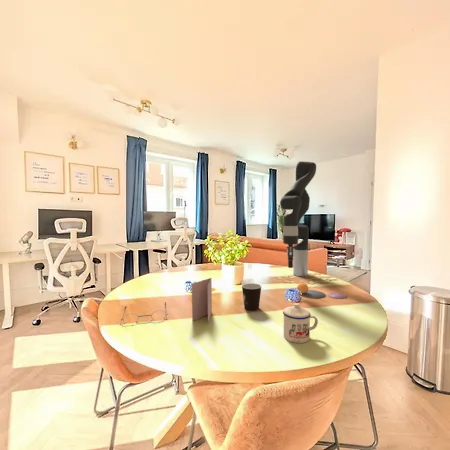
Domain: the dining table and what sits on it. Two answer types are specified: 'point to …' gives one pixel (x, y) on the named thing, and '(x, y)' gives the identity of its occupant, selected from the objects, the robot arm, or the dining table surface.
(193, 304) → the greeting card
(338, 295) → the disc
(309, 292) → the disc
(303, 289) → the ball
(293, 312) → the teacup with lid
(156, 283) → the dining table surface
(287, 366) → the dining table surface
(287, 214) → the robot arm
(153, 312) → the eyeglasses
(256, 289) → the coffee mug
